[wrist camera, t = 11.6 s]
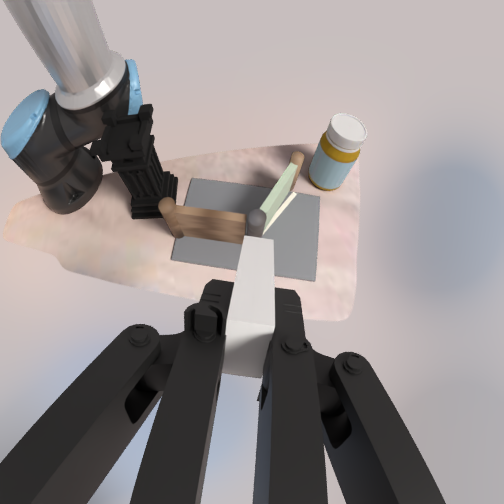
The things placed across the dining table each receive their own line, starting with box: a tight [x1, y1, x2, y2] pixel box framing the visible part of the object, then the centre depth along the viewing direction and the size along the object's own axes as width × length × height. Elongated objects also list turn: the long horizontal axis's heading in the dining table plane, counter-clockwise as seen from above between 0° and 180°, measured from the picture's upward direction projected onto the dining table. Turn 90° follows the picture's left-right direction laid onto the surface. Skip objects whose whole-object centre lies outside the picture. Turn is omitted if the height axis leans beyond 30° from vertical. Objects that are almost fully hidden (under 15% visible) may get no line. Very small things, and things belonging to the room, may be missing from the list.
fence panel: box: [260, 151, 304, 232], centre depth 44 cm, size 12×2×9 cm, turn 149°
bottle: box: [308, 113, 367, 191], centre depth 45 cm, size 7×7×15 cm
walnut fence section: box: [158, 197, 267, 244], centre depth 42 cm, size 15×2×10 cm, turn 82°
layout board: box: [171, 178, 320, 282], centre depth 48 cm, size 24×16×1 cm, turn 82°
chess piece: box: [90, 104, 178, 219], centre depth 39 cm, size 8×8×20 cm
